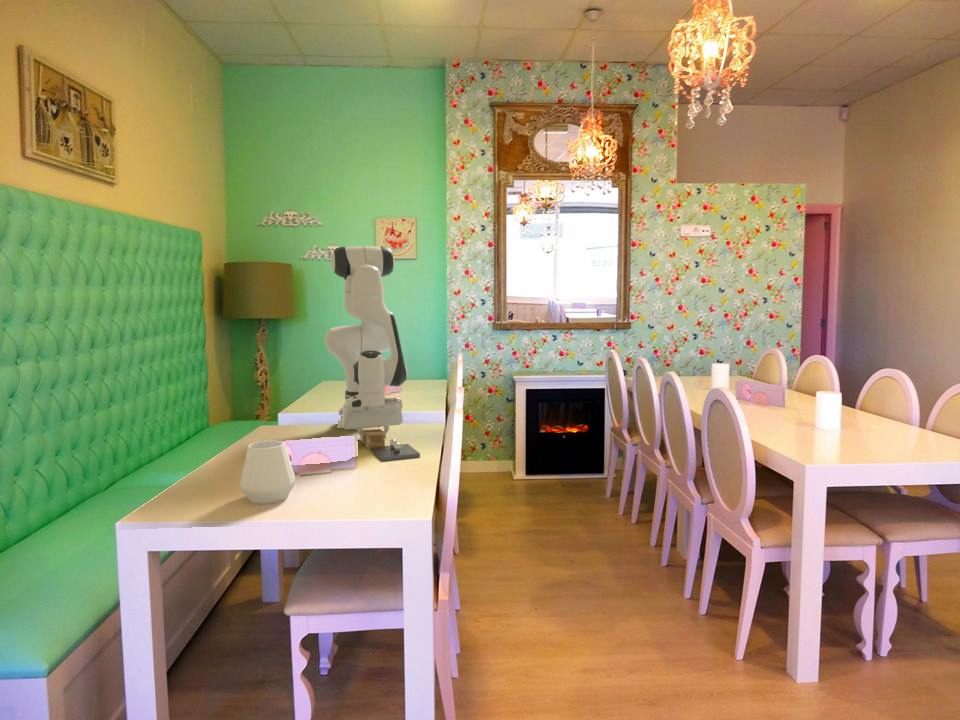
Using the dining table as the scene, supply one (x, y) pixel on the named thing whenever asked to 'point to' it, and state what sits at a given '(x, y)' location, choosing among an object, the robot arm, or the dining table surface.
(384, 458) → the slate base plate
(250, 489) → the cream vase
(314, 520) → the dining table surface
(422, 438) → the dining table surface
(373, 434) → the block
